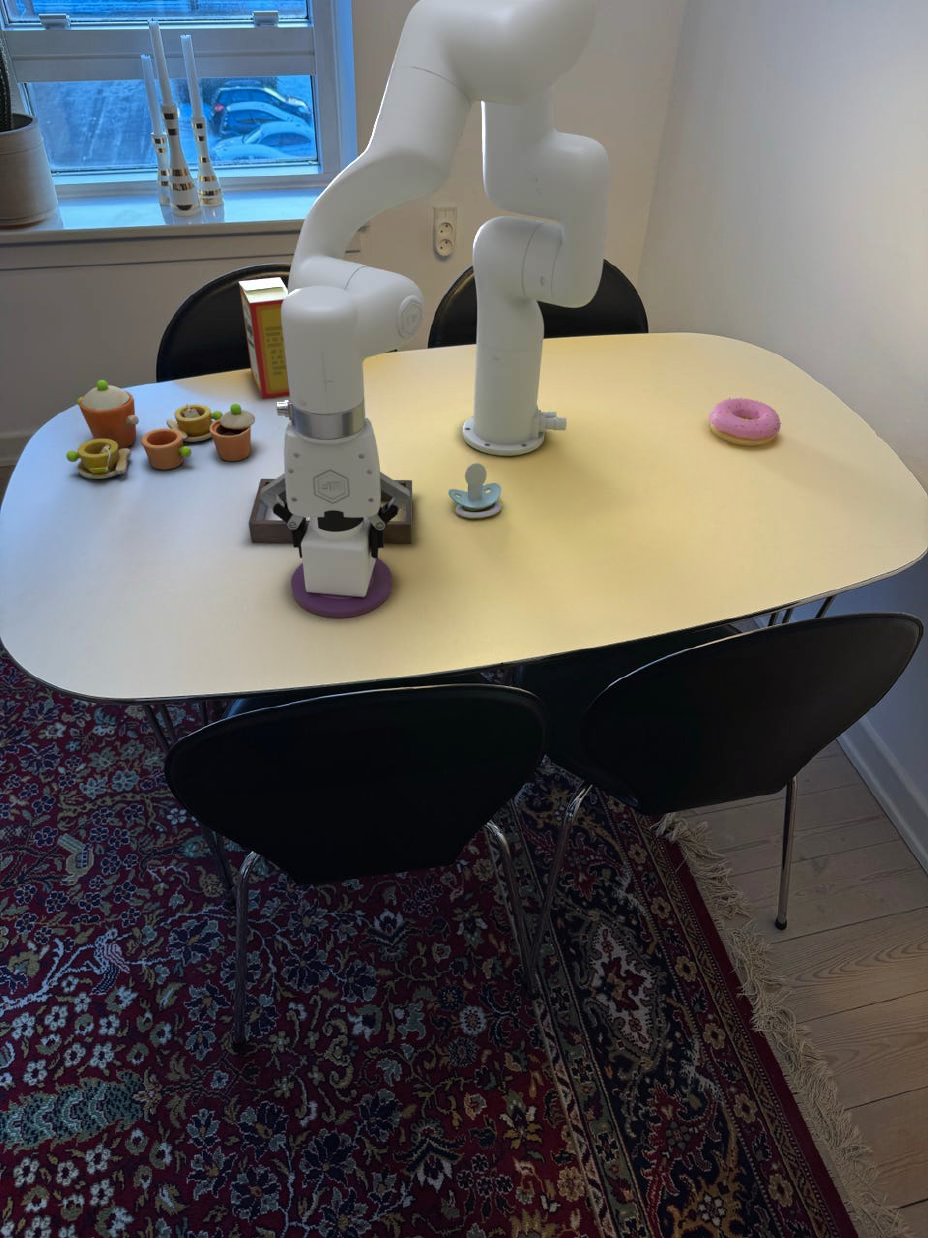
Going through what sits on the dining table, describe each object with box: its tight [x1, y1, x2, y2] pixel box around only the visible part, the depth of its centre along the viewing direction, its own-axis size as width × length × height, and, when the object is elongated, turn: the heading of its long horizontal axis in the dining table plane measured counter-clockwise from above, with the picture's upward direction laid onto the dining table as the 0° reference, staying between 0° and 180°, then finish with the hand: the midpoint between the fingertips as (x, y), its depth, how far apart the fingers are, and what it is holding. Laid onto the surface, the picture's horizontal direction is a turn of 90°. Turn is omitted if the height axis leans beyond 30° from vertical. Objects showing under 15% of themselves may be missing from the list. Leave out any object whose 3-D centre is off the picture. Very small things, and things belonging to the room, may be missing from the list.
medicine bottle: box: [301, 510, 375, 597], centre depth 98 cm, size 7×7×12 cm
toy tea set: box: [65, 379, 256, 480], centre depth 123 cm, size 26×16×10 cm, turn 106°
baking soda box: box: [238, 277, 290, 400], centre depth 138 cm, size 10×6×16 cm
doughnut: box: [708, 396, 782, 447], centre depth 134 cm, size 11×11×4 cm
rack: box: [248, 478, 413, 544], centre depth 112 cm, size 20×11×3 cm, turn 92°
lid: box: [290, 557, 393, 619], centre depth 103 cm, size 12×12×1 cm
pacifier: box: [447, 462, 503, 519], centre depth 114 cm, size 7×6×6 cm
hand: (339, 550), depth 100 cm, fingers closed on medicine bottle, 7 cm apart
